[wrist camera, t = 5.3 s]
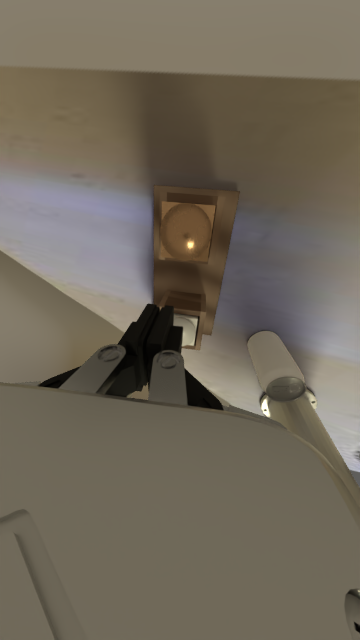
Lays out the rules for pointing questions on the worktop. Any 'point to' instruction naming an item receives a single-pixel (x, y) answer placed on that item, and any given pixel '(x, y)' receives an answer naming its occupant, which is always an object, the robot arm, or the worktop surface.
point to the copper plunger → (186, 230)
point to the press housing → (193, 276)
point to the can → (276, 367)
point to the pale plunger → (186, 327)
